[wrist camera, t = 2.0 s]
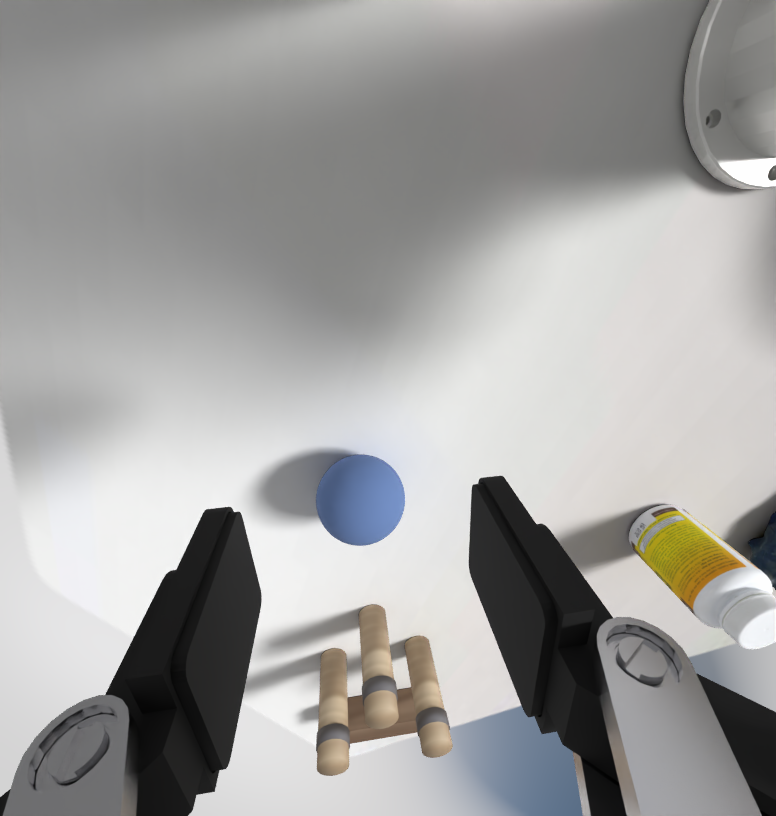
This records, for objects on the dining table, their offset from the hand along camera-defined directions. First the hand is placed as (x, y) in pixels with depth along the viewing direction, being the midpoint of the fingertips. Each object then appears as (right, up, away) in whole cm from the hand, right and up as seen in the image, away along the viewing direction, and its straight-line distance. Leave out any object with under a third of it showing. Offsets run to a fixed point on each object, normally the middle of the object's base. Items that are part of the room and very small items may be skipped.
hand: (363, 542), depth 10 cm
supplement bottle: (+25, -7, +26) cm, 36 cm away
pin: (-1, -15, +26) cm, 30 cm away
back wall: (0, -27, +31) cm, 41 cm away
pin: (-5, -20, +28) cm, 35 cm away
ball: (-1, -3, +17) cm, 17 cm away
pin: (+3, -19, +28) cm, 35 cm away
